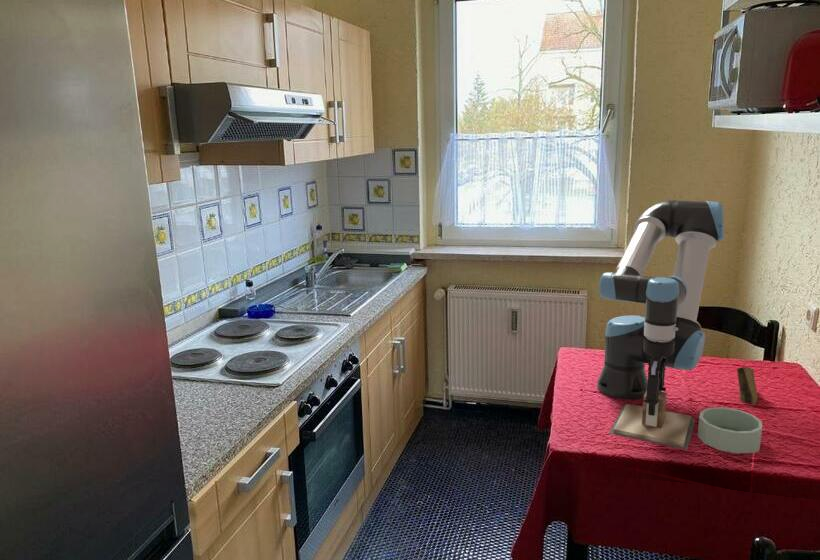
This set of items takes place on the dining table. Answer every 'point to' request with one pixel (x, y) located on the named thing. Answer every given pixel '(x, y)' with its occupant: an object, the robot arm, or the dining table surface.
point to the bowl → (730, 430)
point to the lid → (667, 430)
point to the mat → (655, 441)
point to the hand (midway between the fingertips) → (653, 419)
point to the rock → (747, 385)
